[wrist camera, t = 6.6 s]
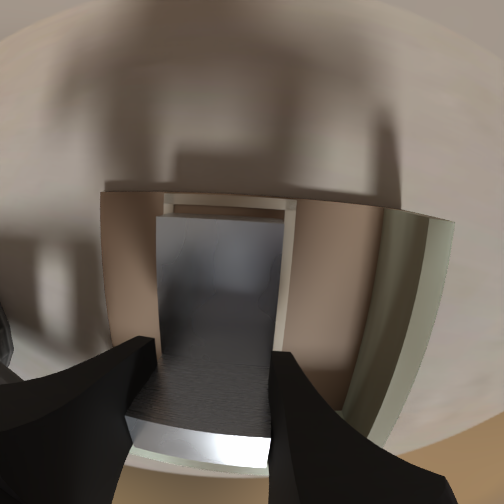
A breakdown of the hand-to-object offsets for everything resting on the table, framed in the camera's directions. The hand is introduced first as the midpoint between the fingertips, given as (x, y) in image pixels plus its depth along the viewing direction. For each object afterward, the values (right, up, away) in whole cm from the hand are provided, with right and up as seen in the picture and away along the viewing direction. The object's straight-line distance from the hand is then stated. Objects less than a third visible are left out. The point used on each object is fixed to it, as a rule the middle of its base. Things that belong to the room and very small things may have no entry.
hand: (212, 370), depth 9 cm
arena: (+1, +1, +3) cm, 3 cm away
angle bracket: (0, +2, +2) cm, 3 cm away
